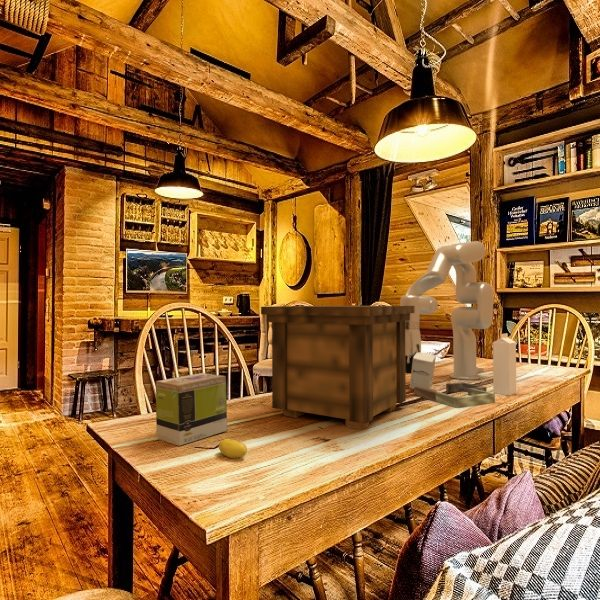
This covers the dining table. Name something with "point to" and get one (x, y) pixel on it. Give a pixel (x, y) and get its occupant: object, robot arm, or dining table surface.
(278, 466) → the dining table surface
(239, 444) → the lemon
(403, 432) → the dining table surface
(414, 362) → the supplement box
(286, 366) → the crate
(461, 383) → the grey-green angular frame
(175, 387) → the tea box
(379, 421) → the dining table surface
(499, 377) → the milk
